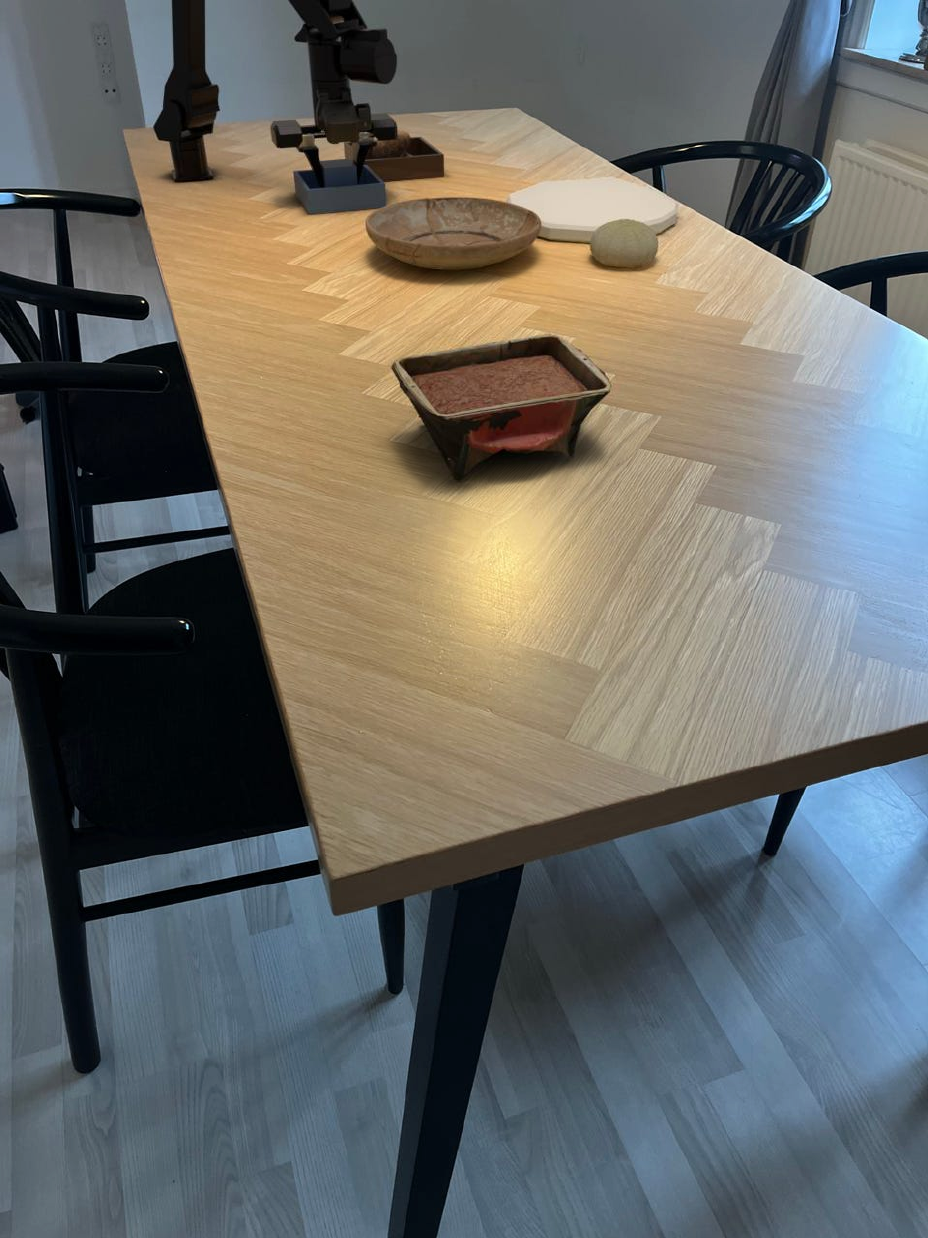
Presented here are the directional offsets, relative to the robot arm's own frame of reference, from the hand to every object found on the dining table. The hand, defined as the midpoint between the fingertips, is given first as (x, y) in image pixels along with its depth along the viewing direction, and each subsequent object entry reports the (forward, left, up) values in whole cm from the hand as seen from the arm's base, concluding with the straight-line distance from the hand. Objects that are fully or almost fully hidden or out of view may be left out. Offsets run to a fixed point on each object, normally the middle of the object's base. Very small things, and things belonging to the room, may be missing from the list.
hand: (339, 190), depth 150 cm
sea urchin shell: (+41, +30, -2) cm, 51 cm away
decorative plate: (+22, +34, -2) cm, 41 cm away
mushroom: (-16, +13, -1) cm, 20 cm away
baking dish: (+84, -3, -2) cm, 84 cm away
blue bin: (0, 0, -2) cm, 2 cm away
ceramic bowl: (+32, +9, -2) cm, 33 cm away
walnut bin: (-16, +13, -2) cm, 21 cm away
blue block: (0, 0, -1) cm, 1 cm away
